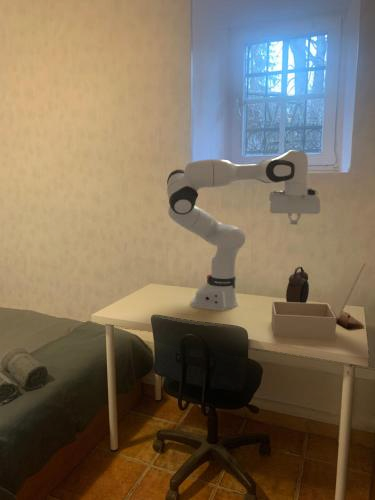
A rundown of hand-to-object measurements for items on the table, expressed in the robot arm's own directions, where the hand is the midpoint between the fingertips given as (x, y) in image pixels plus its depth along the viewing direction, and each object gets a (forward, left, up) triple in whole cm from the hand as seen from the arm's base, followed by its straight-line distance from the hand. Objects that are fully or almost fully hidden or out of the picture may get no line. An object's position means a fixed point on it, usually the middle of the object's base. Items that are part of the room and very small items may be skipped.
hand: (293, 224), depth 159 cm
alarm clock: (+5, +12, -41) cm, 43 cm away
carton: (+3, -17, -41) cm, 45 cm away
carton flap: (+14, -17, -31) cm, 38 cm away
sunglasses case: (+24, -1, -42) cm, 48 cm away
